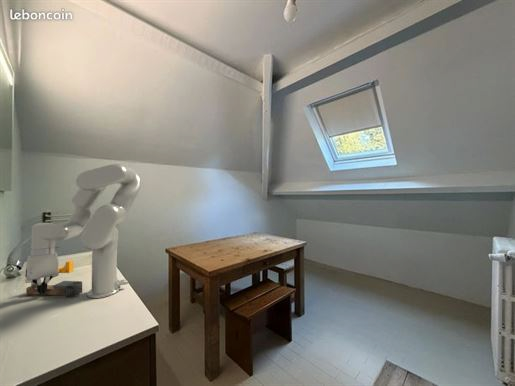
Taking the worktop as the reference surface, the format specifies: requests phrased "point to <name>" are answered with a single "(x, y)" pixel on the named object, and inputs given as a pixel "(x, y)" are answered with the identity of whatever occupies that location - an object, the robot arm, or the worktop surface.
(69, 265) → the pipe clamp
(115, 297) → the worktop surface
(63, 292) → the link
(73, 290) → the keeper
